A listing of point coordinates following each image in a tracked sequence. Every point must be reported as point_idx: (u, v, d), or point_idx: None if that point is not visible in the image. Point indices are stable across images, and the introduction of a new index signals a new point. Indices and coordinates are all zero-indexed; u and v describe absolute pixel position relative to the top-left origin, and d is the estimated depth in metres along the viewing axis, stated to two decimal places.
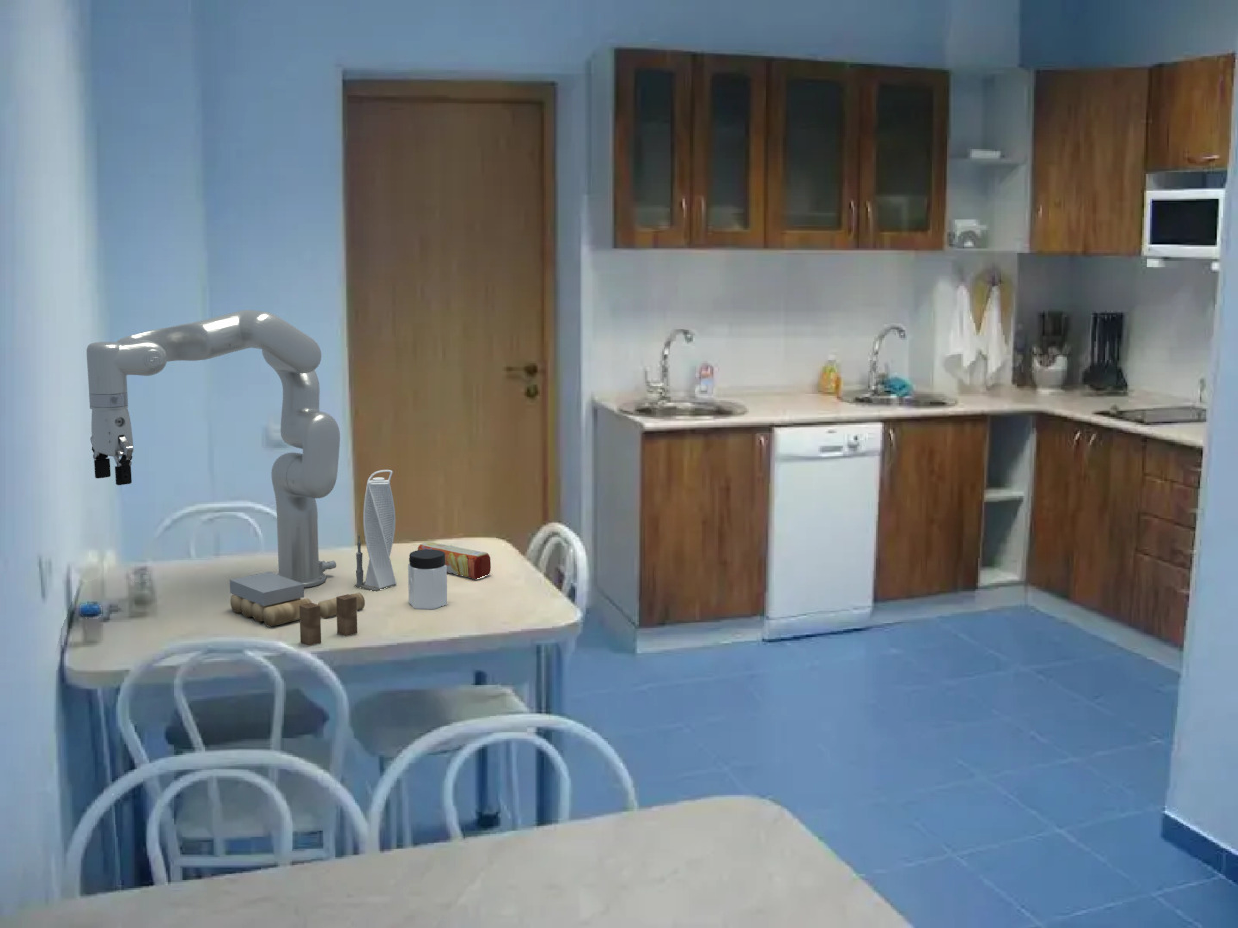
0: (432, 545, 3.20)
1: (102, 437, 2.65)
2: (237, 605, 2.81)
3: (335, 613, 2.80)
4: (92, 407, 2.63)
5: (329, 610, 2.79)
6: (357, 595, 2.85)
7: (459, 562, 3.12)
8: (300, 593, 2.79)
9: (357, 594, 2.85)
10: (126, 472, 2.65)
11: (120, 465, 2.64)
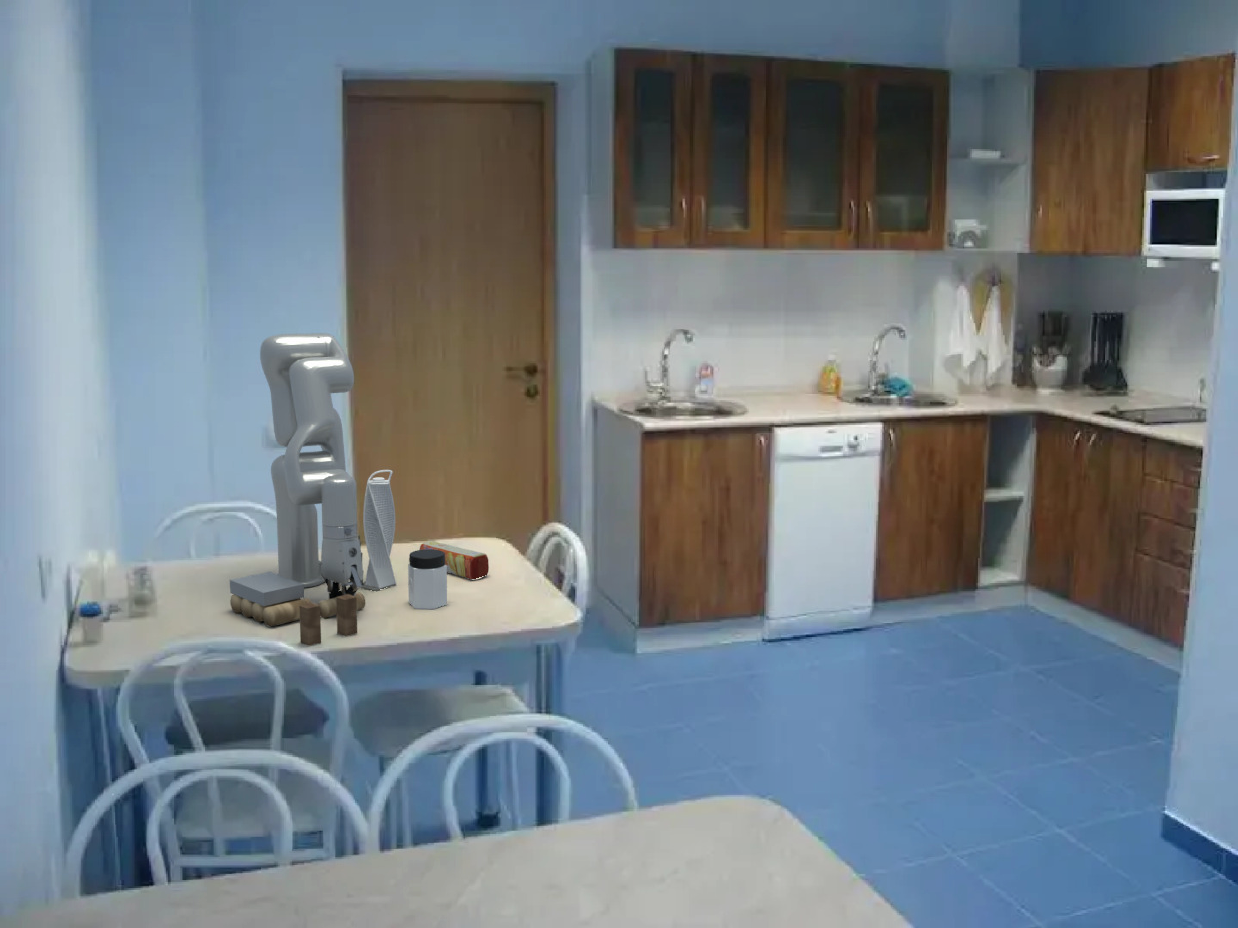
0: (433, 544, 3.21)
1: (335, 566, 2.78)
2: (237, 605, 2.81)
3: (335, 613, 2.80)
4: (326, 538, 2.77)
5: (330, 610, 2.78)
6: (358, 595, 2.85)
7: (457, 562, 3.12)
8: (300, 593, 2.79)
9: (358, 594, 2.85)
10: None
11: None
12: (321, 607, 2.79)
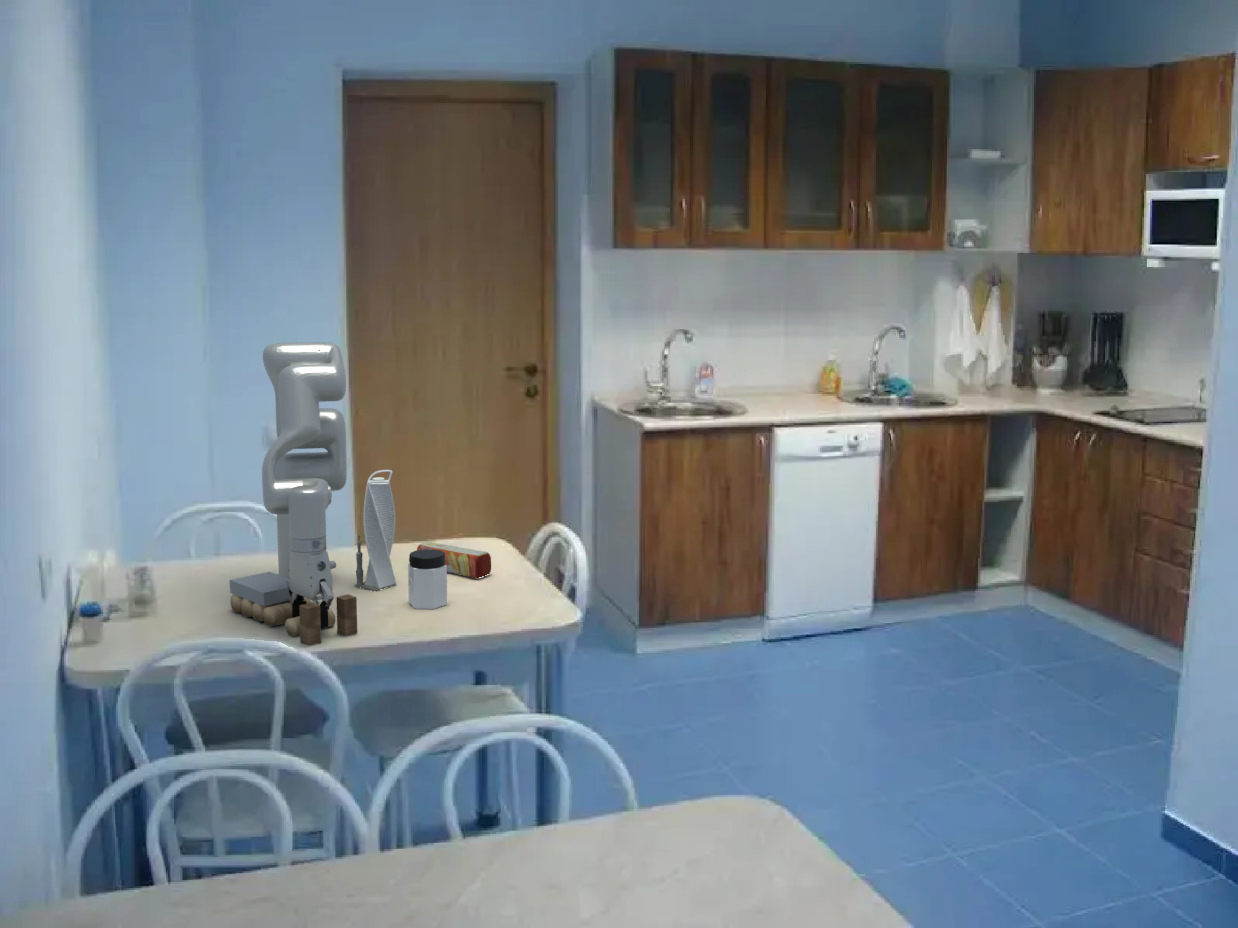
0: (431, 545, 3.21)
1: (302, 581, 2.66)
2: (237, 605, 2.81)
3: None
4: (293, 551, 2.64)
5: (298, 629, 2.66)
6: (328, 612, 2.72)
7: (460, 561, 3.13)
8: None
9: (328, 611, 2.73)
10: (324, 617, 2.67)
11: None
12: (288, 625, 2.67)
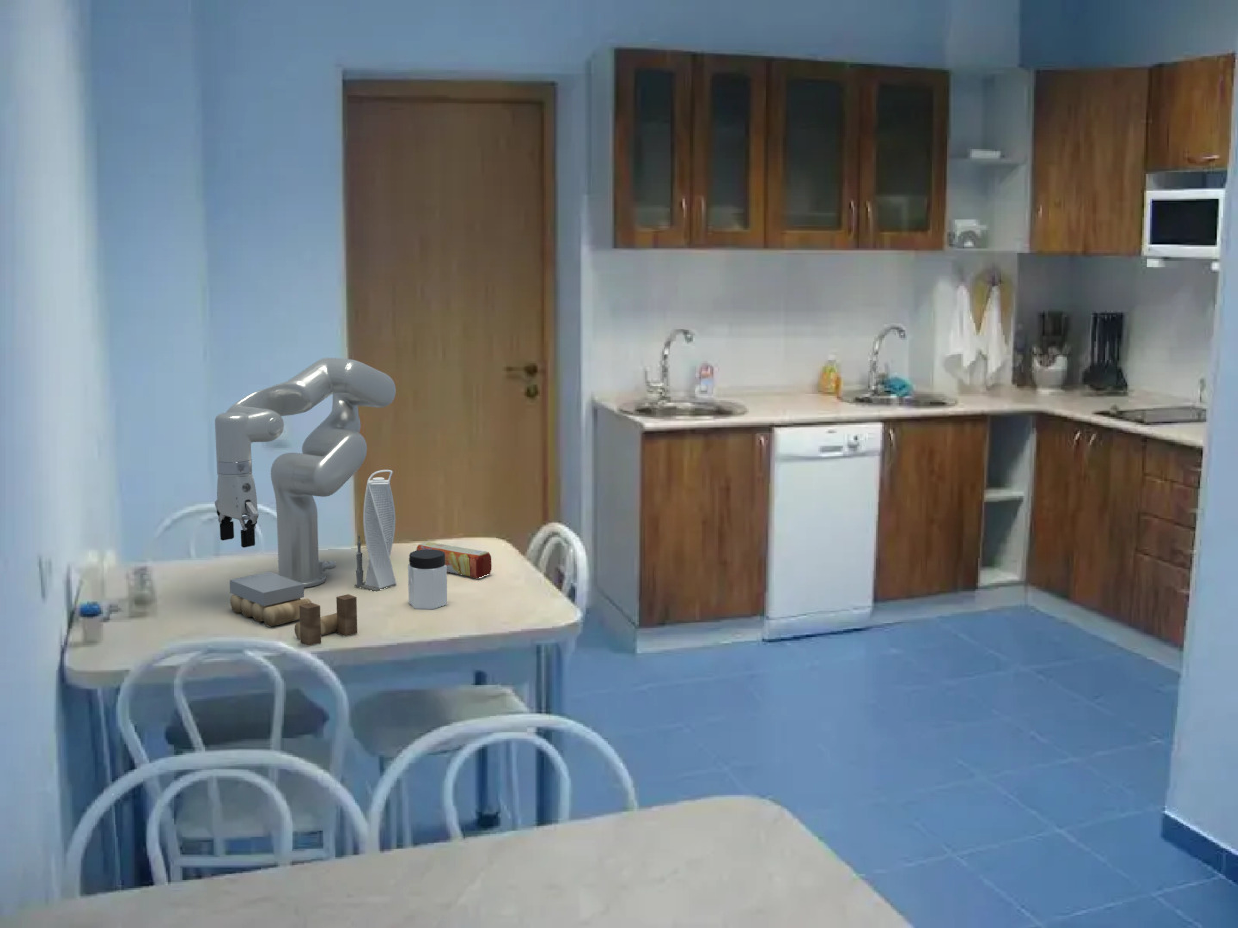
0: (431, 545, 3.20)
1: (229, 502, 2.83)
2: (237, 605, 2.81)
3: None
4: (220, 474, 2.82)
5: None
6: None
7: (460, 561, 3.13)
8: (300, 593, 2.79)
9: None
10: (251, 535, 2.84)
11: (246, 529, 2.82)
12: None
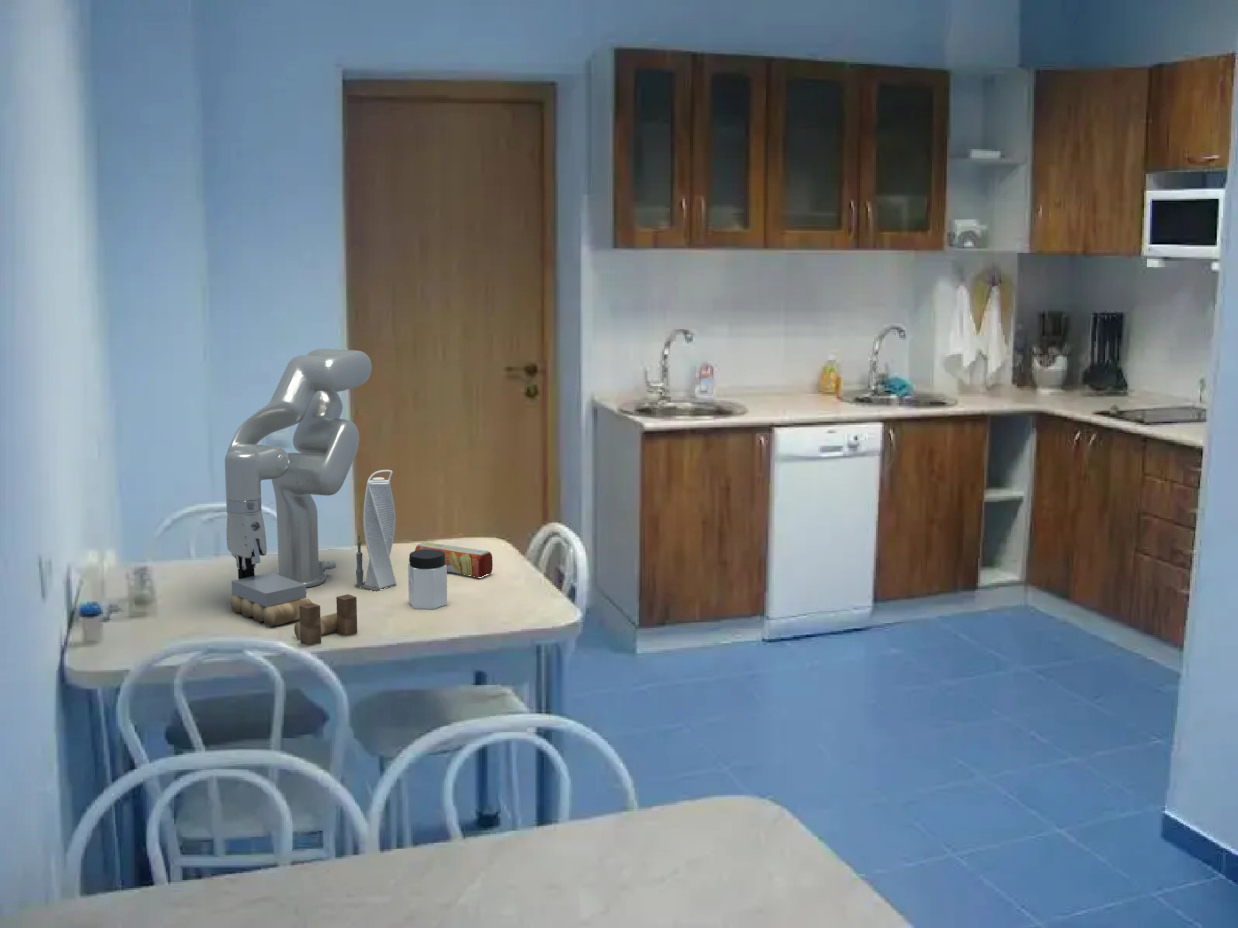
0: (430, 545, 3.20)
1: (238, 540, 2.82)
2: (237, 605, 2.81)
3: None
4: (229, 512, 2.81)
5: None
6: None
7: (462, 561, 3.13)
8: (302, 594, 2.79)
9: None
10: (250, 574, 2.85)
11: (244, 569, 2.84)
12: None
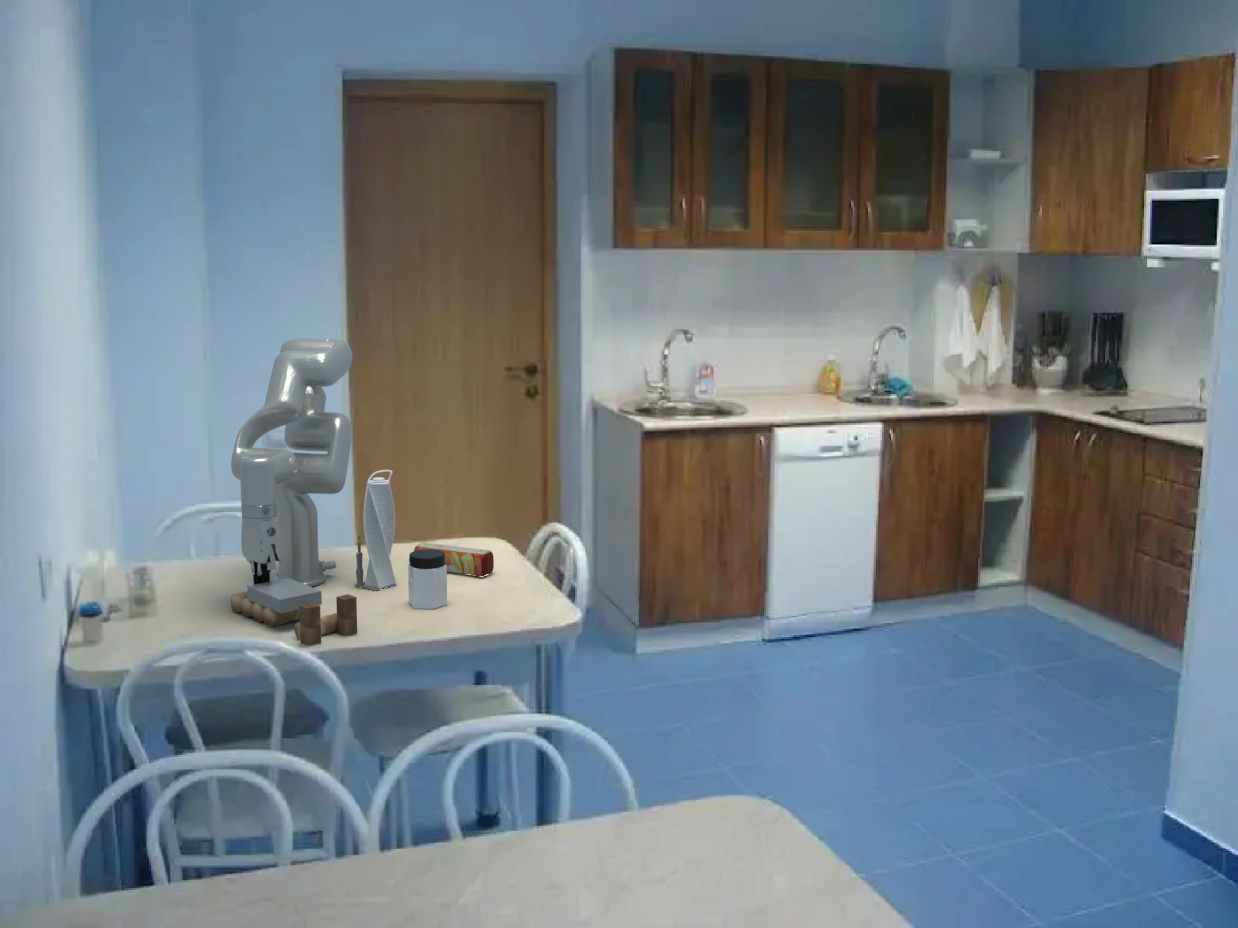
0: (430, 546, 3.20)
1: (253, 546, 2.78)
2: (237, 605, 2.81)
3: None
4: (245, 518, 2.76)
5: None
6: None
7: (464, 561, 3.13)
8: (318, 600, 2.74)
9: None
10: (266, 580, 2.81)
11: (260, 575, 2.80)
12: None
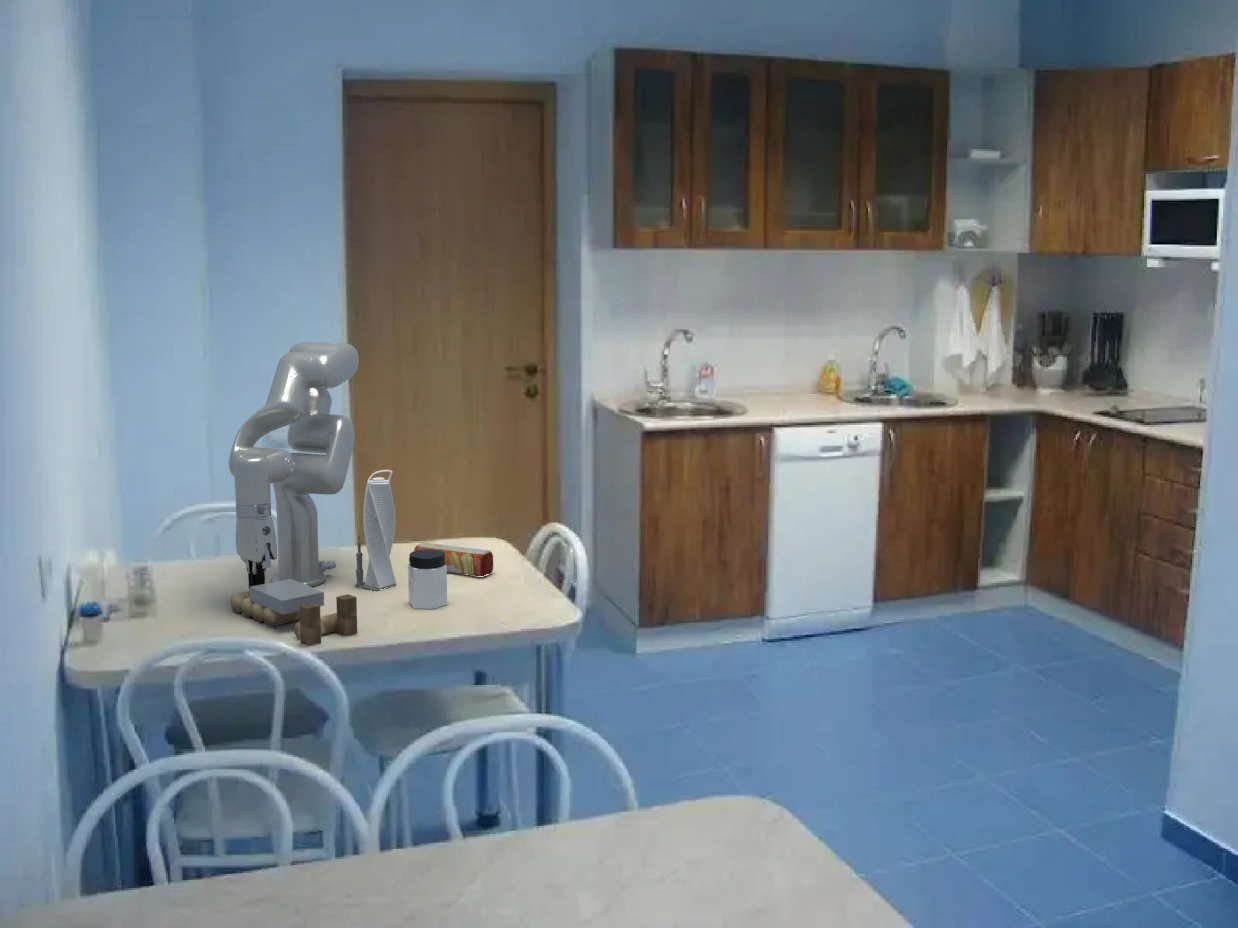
0: (430, 546, 3.20)
1: (248, 545, 2.80)
2: (237, 605, 2.81)
3: None
4: (239, 517, 2.78)
5: None
6: None
7: (463, 561, 3.13)
8: (320, 601, 2.74)
9: None
10: (261, 579, 2.83)
11: (255, 574, 2.82)
12: None
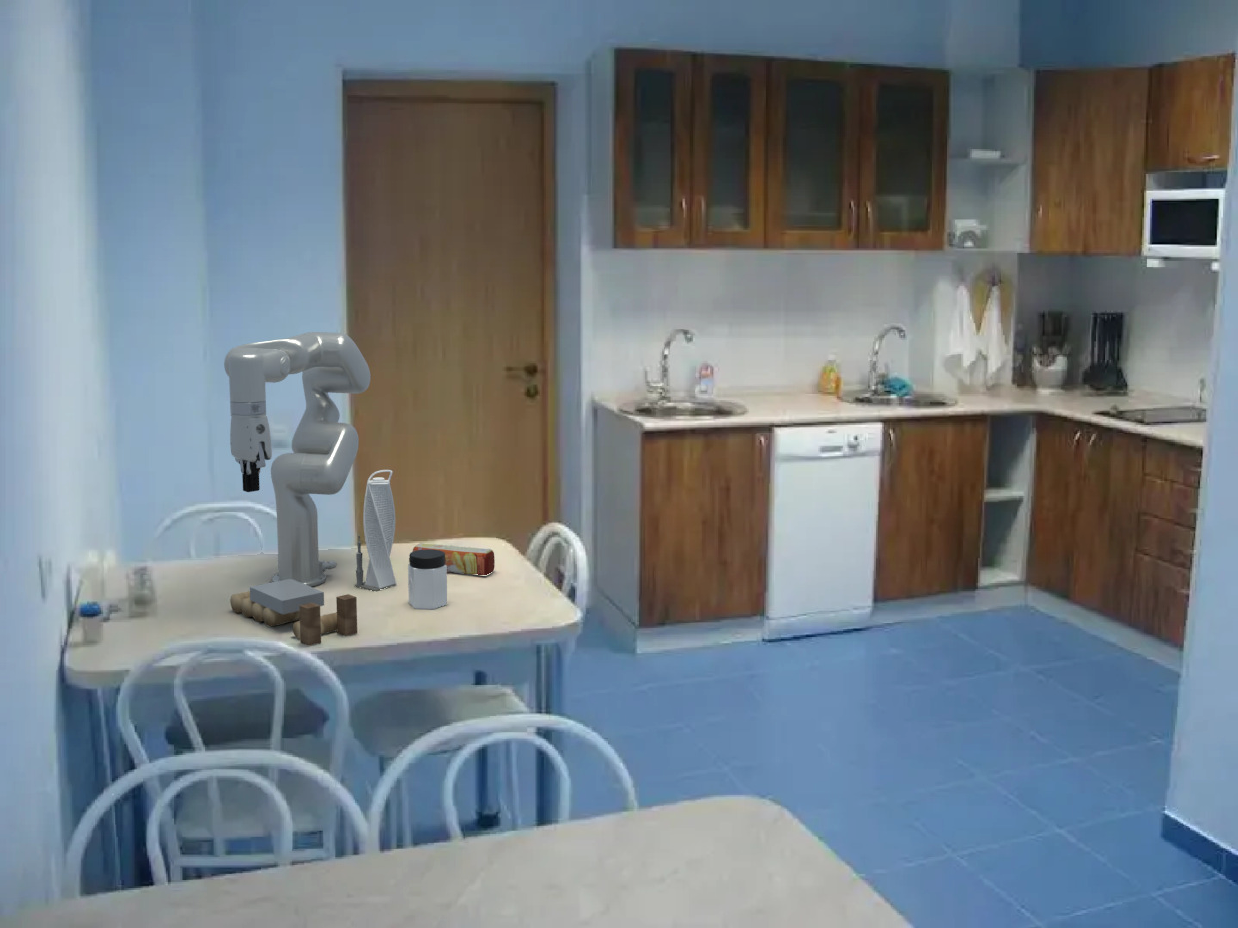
0: (429, 546, 3.19)
1: (242, 443, 2.76)
2: (237, 605, 2.81)
3: None
4: (234, 415, 2.74)
5: None
6: None
7: (466, 560, 3.14)
8: (320, 601, 2.74)
9: None
10: (255, 480, 2.79)
11: (249, 474, 2.78)
12: (299, 629, 2.64)
